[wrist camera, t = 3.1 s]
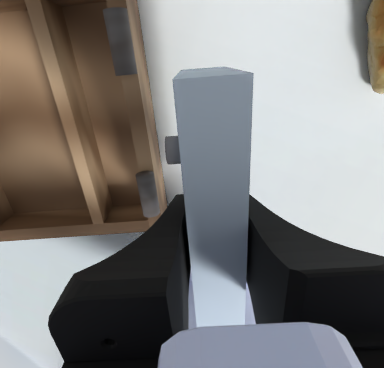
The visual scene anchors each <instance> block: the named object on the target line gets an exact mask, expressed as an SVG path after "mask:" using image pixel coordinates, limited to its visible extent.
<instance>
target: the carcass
mask: <svg viewBox="0 0 384 368" xmlns="http://www.w3.org/2000/svg"><path fill="white" fill-rule="evenodd" d="M166 208H167V200H166V193H165V186H164V180H163V173H162V166H161V159H160V152H159V146H158V139H157V132H156V125H155V119H154V112H153V105H152V98H151V91H150V85H149V78H148V71H147V64H146V57H145V51H144V44H143V37H142V30H141V24H140V17H139V10H138V3H137V0H0V242H1V241H15V240H30V239H45V238H59V237H74V236H88V235H103V234H117V233H132V232H146V231H147V230H148V229H149V228H150V227H151V226H152V225H153V224H154V223H155V222H156V221H157V219H158V218H159V217H160V216H161V215H162V214H163V212H164V211H165V210H166Z"/></svg>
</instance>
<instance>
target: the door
mask: <svg viewBox="0 0 384 368" xmlns="http://www.w3.org/2000/svg"><path fill="white" fill-rule="evenodd" d="M173 89H174V99H175V109H176V119H177V130H178V136H168V137H165V152H166V159H167V163H168V164H180V163H181V171H182V181H183V191H184V202H185V212H186V222H187V232H188V243H189V253H190V263H191V273H192V284H193V294H194V304H195V315H196V325H197V327H205V326H227V325H245V303H246V274H247V244H248V215H249V186H250V157H251V128H252V98H253V73H251V72H246V71H242V70H237V69H233V68H228V67H214V68H202V69H189V70H181V71H180V72H179V73H178V74H177V75H176V76H175V77H174V78H173Z"/></svg>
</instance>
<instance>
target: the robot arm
mask: <svg viewBox="0 0 384 368" xmlns="http://www.w3.org/2000/svg"><path fill="white" fill-rule="evenodd" d="M48 327H49V330H50V333H51V335H52V337H53V339H54V341H55V343H56V346H57V348H58V350H59V352H60V354H61V356H62V358H63V360H64V364H63V366H62V368H384V257H383V256H379V255H376V254H372V253H368V252H364V251H360V250H356V249H352V248H349V247H346V246H343V245H340V244H337V243H334V242H331V241H328V240H326V239H323V238H320V237H318V236H316V235H313V234H311V233H309V232H306V231H304V230H302V229H300V228H298V227H296V226H295V225H293V224H291V223H289V222H287V221H285V220H284V219H282V218H281V217H279V216H278V215H276V214H274V213H273V212H272V211H270V210H269V209H267V208H266V207H265V206H263V205H262V204H261V203H260V202H258V201H257V200H256V199H255V198H253V197H252V196H251V195H250V194H249V215H248V244H247V274H246V303H245V325H227V326H205V327H197V325H196V315H195V304H194V294H193V284H192V273H191V263H190V253H189V243H188V232H187V222H186V212H185V202H184V194H181V195H176V196H175V197H174V199H173V200H172V202H171V203H170V204H169V206H168V207H167V208H166V210H165V211H164V212H163V214H162V215H161V216H160V217H159V218H158V219H157V221H156V222H155V223H154V224H153V225H152V226H151V227H150V228H149V229H148V230H147V231H146V232H145V233H143V234H142V235H141V236H140V237H139V238H137V239H136V240H135V241H133V242H132V243H130V244H129V245H128V246H126V247H125V248H123V249H122V250H120V251H119V252H117V253H115V254H114V255H112V256H110V257H108V258H106V259H105V260H103V261H101V262H99V263H97V264H95V265H92V266H90V267H88V268H86V269H84V270H82V271H79V272H77V273H75V274H74V275H73V276H72V278H71V279H70V281H69V282H68V284H67V285H66V287H65V289H64V291H63V292H62V294H61V296H60V298H59V300H58V301H57V303H56V305H55V307H54V309H53V310H52V312H51V314H50V316H49V321H48Z"/></svg>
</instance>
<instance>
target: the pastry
mask: <svg viewBox="0 0 384 368" xmlns="http://www.w3.org/2000/svg"><path fill="white" fill-rule="evenodd" d="M366 21H367V24H368V34H367V37H368V51H367V59H368V72H369V76H370V83H371V85H372V89H373V91H375V92H377V93H379V94H384V0H372V2H371V4H370V6H369V9H368V12H367V15H366Z"/></svg>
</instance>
